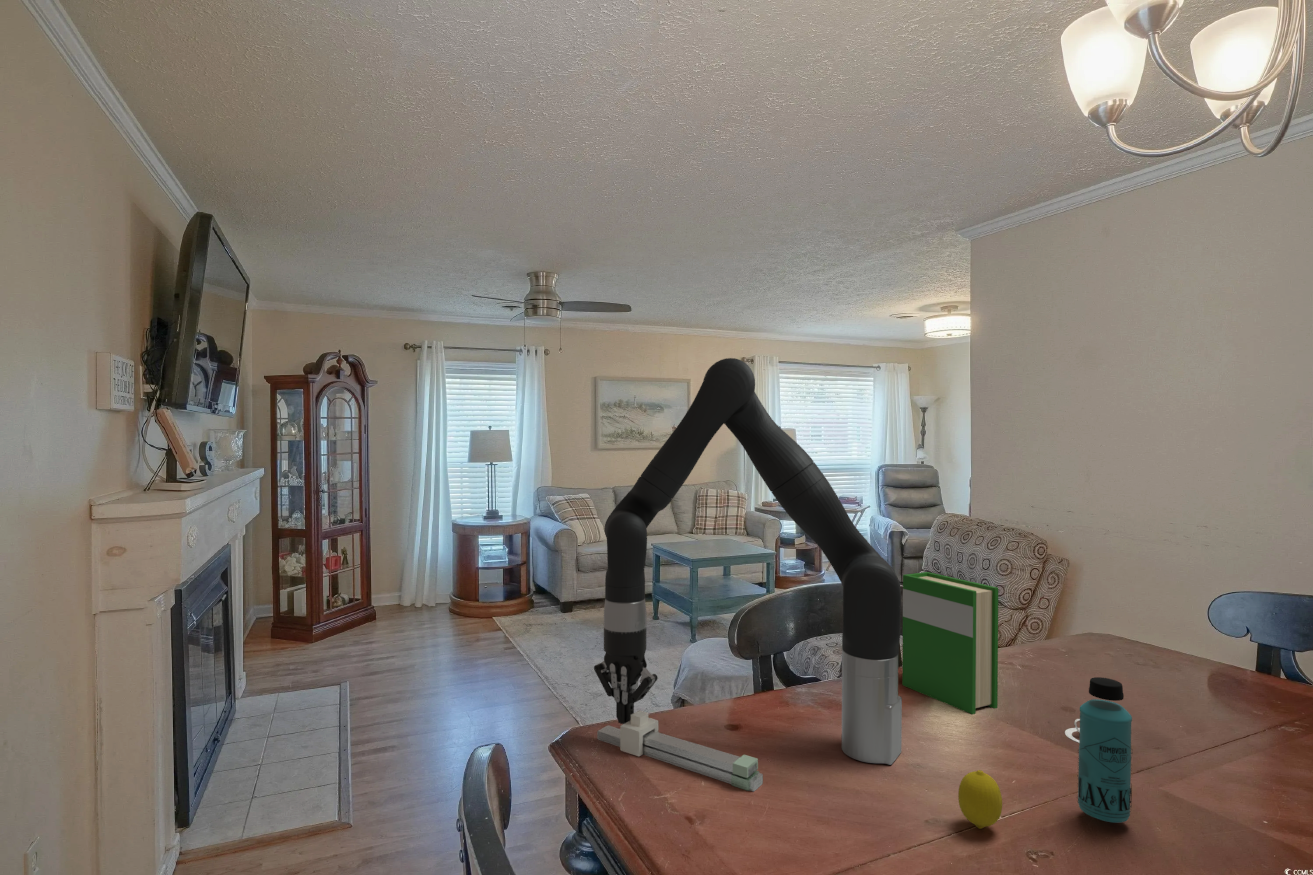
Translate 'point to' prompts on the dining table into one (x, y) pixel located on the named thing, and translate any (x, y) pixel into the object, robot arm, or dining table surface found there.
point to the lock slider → (636, 732)
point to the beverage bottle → (1105, 753)
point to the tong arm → (702, 754)
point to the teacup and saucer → (1071, 730)
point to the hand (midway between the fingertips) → (624, 722)
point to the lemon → (980, 799)
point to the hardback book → (950, 640)
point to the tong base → (687, 762)
